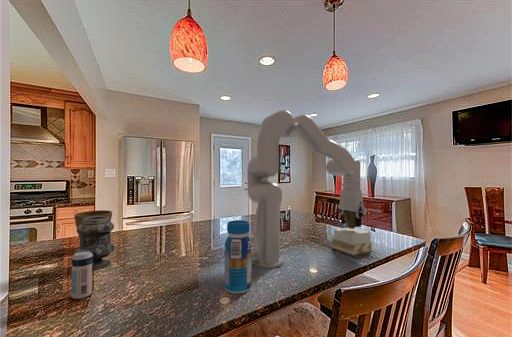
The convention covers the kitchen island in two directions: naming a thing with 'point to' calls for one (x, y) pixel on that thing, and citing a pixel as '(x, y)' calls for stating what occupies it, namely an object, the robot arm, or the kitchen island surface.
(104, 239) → the dark grey carved vase
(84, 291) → the white pill bottle
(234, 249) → the beverage bottle
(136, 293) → the kitchen island surface
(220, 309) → the kitchen island surface
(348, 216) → the dark brown tapered piece
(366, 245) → the box
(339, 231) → the tower top
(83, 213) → the plant pot
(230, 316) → the kitchen island surface
